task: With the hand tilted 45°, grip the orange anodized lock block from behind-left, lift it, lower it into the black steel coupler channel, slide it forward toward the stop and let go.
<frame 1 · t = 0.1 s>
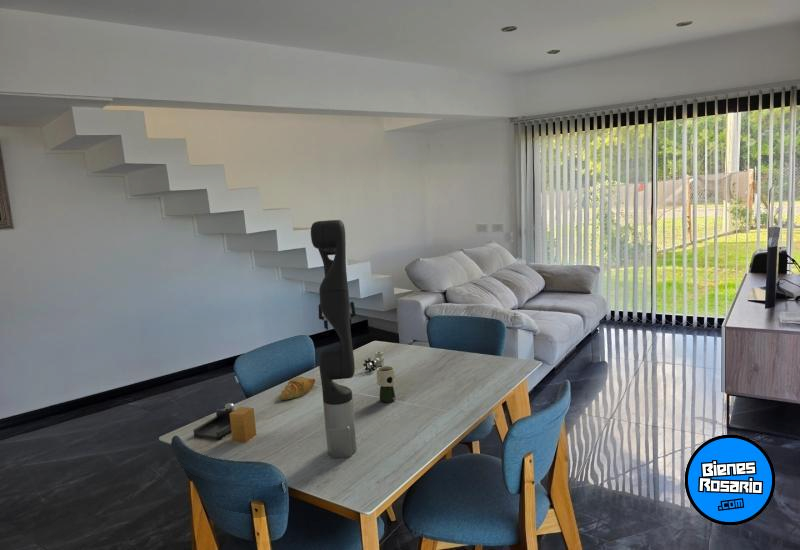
hand: (338, 328, 215), 29 cm above the table, tool pointing down, fingers open, 8 cm apart
croissant: (297, 394, 230), on the table
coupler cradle: (220, 430, 197), on the table
lock block: (244, 438, 189), on the table
valve: (376, 368, 257), on the table
character mug: (387, 400, 215), on the table
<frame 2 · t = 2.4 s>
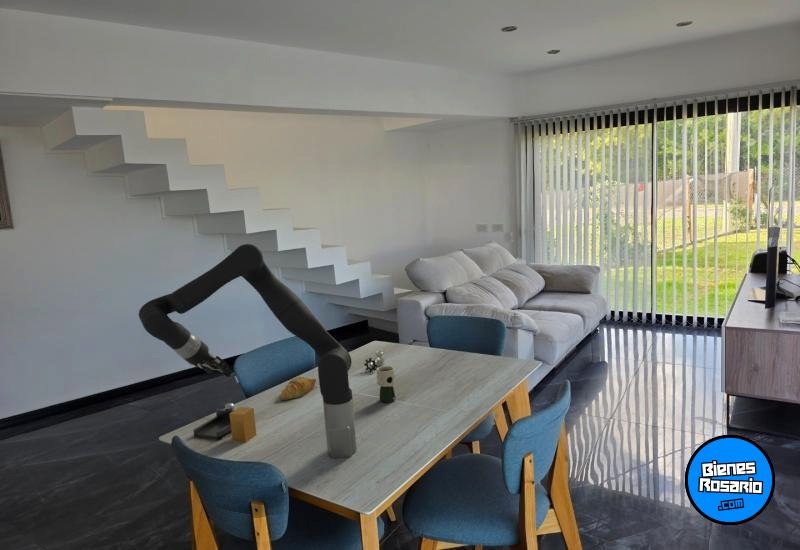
hand: (220, 372, 182), 25 cm above the table, tool tilted 45°, fingers open, 8 cm apart
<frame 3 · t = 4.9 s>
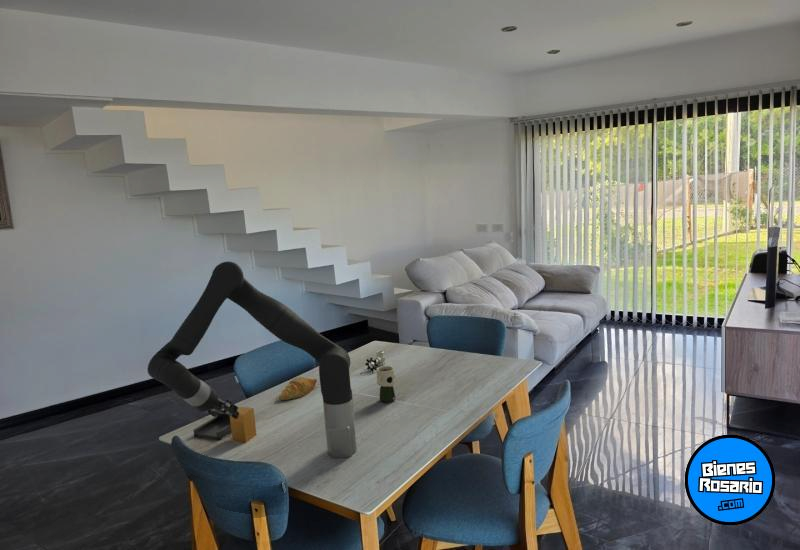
hand: (226, 415, 180), 12 cm above the table, tool tilted 45°, fingers open, 8 cm apart
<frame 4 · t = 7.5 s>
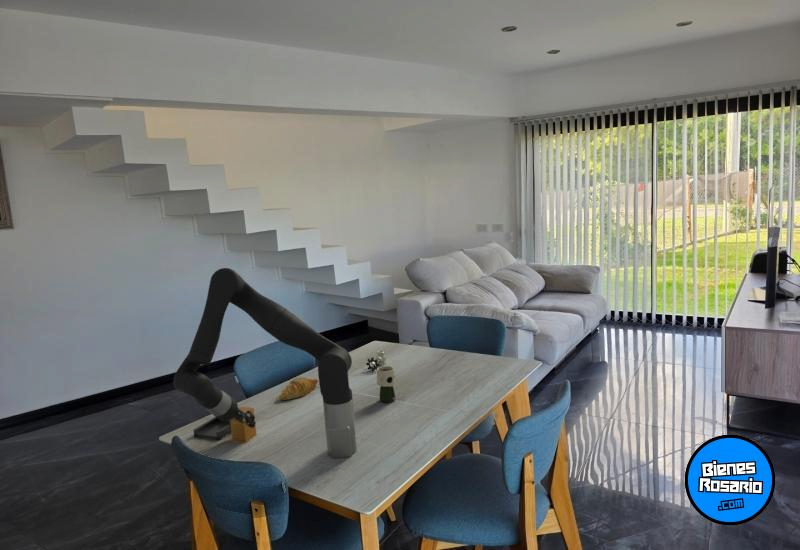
hand: (246, 424, 190), 4 cm above the table, tool tilted 45°, fingers closed on lock block, 5 cm apart
lock block: (244, 438, 189), on the table, touching gripper
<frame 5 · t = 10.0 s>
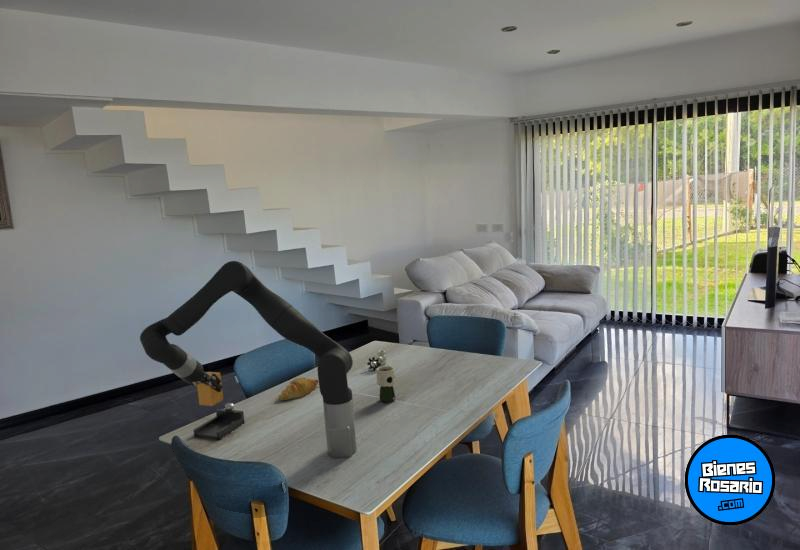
hand: (213, 388, 194), 16 cm above the table, tool tilted 45°, fingers closed on lock block, 5 cm apart
lock block: (211, 402, 193), point 12 cm above the table, touching gripper
when the fingers open (6 cm above the table, at t = 12.3 s): lock block stays where it is, resting on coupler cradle.
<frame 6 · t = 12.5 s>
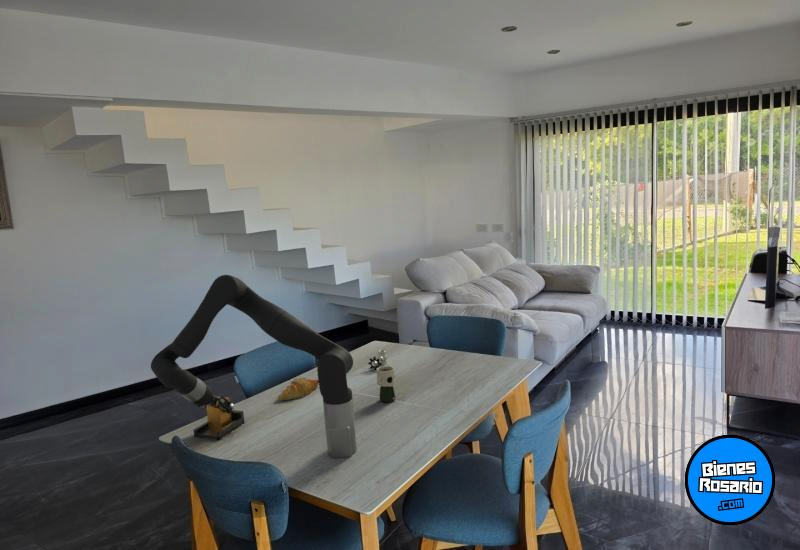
hand: (221, 410, 198), 7 cm above the table, tool tilted 45°, fingers open, 7 cm apart
lock block: (220, 426, 197), point 1 cm above the table, touching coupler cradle
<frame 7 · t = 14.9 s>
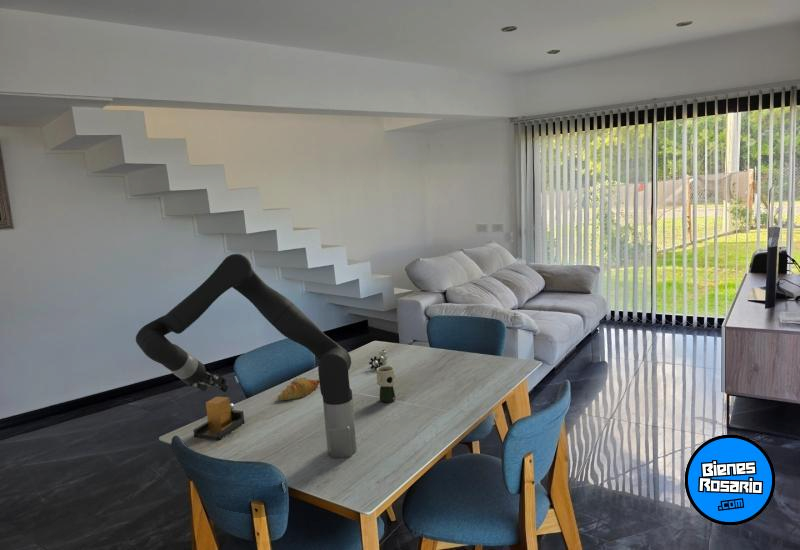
hand: (215, 389, 183), 19 cm above the table, tool tilted 45°, fingers open, 8 cm apart
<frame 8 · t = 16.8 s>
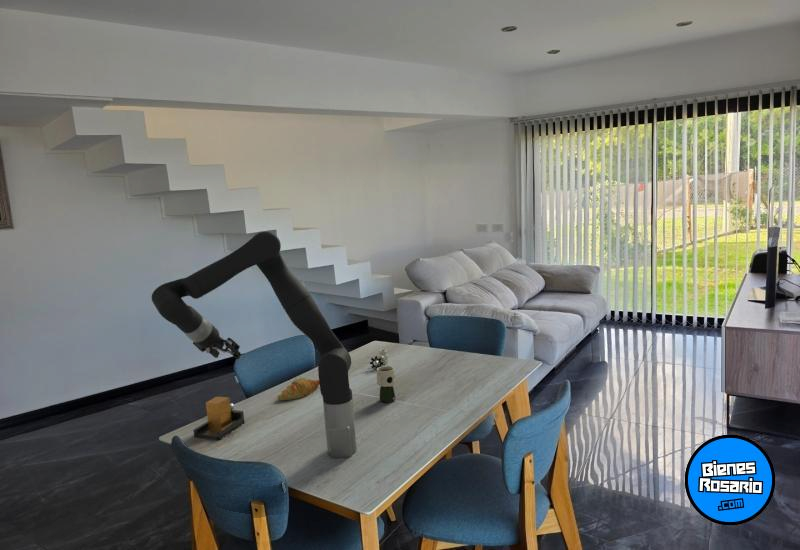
hand: (228, 355, 181), 31 cm above the table, tool tilted 45°, fingers open, 8 cm apart
at the end: lock block inside the target area on the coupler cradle (0.3 cm from its centre), point 1.2 cm above the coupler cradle's base; lock block tilted 0°; the gripper is holding nothing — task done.
